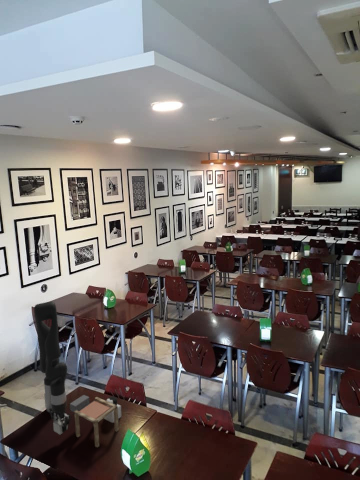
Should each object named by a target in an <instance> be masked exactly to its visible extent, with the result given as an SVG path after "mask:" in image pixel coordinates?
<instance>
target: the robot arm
mask: <svg viewBox="0 0 360 480" xmlns="http://www.w3.org/2000/svg"><path fill="white" fill-rule="evenodd" d="M33 313H34V319H35V324H36V325H35V326H36V329H37V332H36V333H37V342H38V343H37V344H38V352H39V368H40V371H41V373H42V374H45V377H44V379H43V384H44V385H43V387H44V406H45V409H46V411H47V413H49V414H50V418H51V420H53V422H55V421H56V420H58V419H59V421H60V422H61V424H62V432H63V433H65V432H66V431H67V430H68V429H67V427H66V426H67V425H68V426H69V425H70V421H71V420H70V419H71V415H70V414H67V411H66V409H67V407H68V403H67V393H66V384H65V383H66V378H67V374H68V365H67V364H66V363H65V362H63V361H61V362H60V358H61V356H62V352H61V347H60V342H59V322H58V311H57V304H56V303H55V302H54V301H46V302H41V303H37V304H35V305H34V309H33ZM47 320H48V321H49V320H51V324H50V326H48V325H47V324H46V323H45V322H44V321H47ZM61 419H62V420H61ZM63 421H64V423H63Z"/></svg>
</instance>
